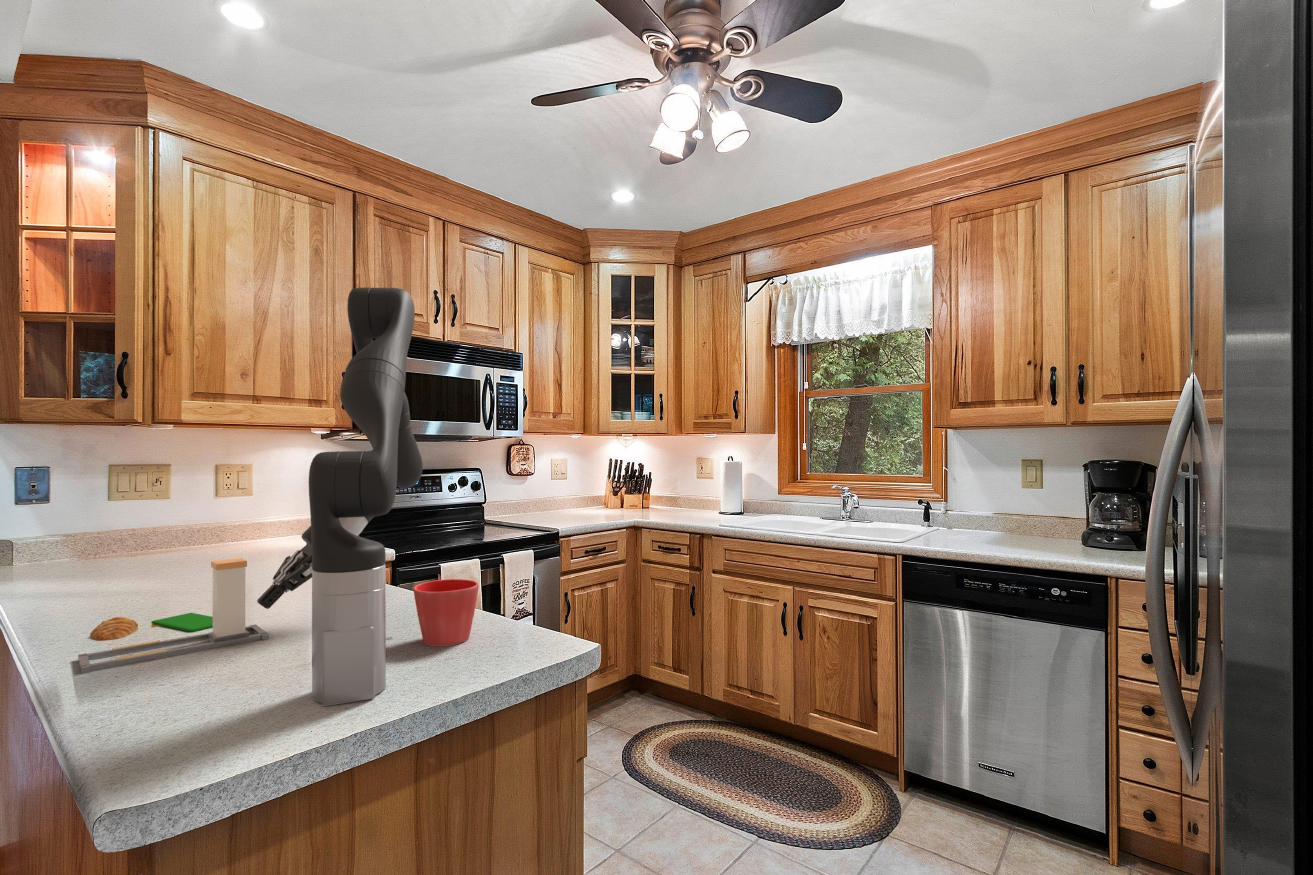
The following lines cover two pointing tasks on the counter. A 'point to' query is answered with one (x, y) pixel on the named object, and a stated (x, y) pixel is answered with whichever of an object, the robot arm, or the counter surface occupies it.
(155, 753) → the counter surface
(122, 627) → the pastry
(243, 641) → the track
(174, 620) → the dish sponge
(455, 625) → the flower pot
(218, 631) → the fader
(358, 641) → the robot arm
